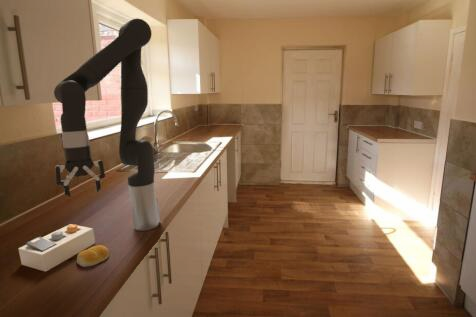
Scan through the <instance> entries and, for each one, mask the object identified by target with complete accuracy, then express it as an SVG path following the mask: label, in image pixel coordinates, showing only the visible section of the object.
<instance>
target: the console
mask: <svg viewBox="0 0 476 317" xmlns="http://www.w3.org/2000/svg"><path fill="white" fill-rule="evenodd" d="M69 225H74V224H71V223H70V224H68V225H65V226H64V227H61V228H60V229H57V230H55V231H53V232H51V233H49V234H47V235H45V236H43V237H42V236H41V238H43V239H45V240H47V241H49V242H51V243H53V244H55V246H53V247H51V248H49V249H47V250H45V251H43V252H39V251H36V250H34V249H32V248H30V247H28V246H27V244H24V245H22V246H20V247H18V248H17V249H18V253H19V258H20V263H21V265H22V266H25V267H29V268H31V269H36V270H39V271H43V272H47V271H50V270H51V269H53V268H55V267H56V266H58V265H60V264H61V263H64V262H65V261H67V260H68V259H70V258H72V257H74V256H76V255H78V254H79V253H80V252H81V251H83V250H87V249H89V248H91V247H92V246H93V245H95V244H96V238H95V232H94V228H92V227H87V226H82V225H78V224H76V225H77V226H78V231H77V232H75V233H73V234H69V233H68V232H67V227H68V226H69ZM58 231H62V232H63V237H64V238H63V239H61V240H59V241H57V242H55V241H52V236H51V234H52V233H55V232H58Z"/></svg>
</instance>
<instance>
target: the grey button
mask: <svg viewBox="0 0 476 317" xmlns="http://www.w3.org/2000/svg"><path fill="white" fill-rule="evenodd" d="M54 232H55V231H54ZM51 233H52V234H51V236H52V241H55V242H57V241H59V240H61V239H63V238H64V237H63V232H62V231H58V232H55V233H53V232H51Z"/></svg>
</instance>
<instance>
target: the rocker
mask: <svg viewBox="0 0 476 317" xmlns="http://www.w3.org/2000/svg"><path fill="white" fill-rule="evenodd" d="M26 245H27V246H28V247H30V248H32V249H34V250H36V251H39V252H43V251H45V250H47V249H49V248H51V247H53V246H55V244H53V243H51V242H49V241H47V240H45V239H43V238H42V236H37V237H35V238H34V239H31V240H30V241H27V242H26Z"/></svg>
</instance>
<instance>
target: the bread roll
mask: <svg viewBox="0 0 476 317" xmlns="http://www.w3.org/2000/svg"><path fill="white" fill-rule="evenodd" d="M109 255H110V251H109V249H108V248H107V247H106V246H104V245H102V244H97V245H94V246H93V245H92V246H90V247H88V248H87V249H84V250H83V251H81V252H79V253H77V257H76V264H78V265H79V266H81V267H83V268H87V267H91V266H95V265H97V264H100V263H102V262H104V261H105V260H107V259H108V257H109Z"/></svg>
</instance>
